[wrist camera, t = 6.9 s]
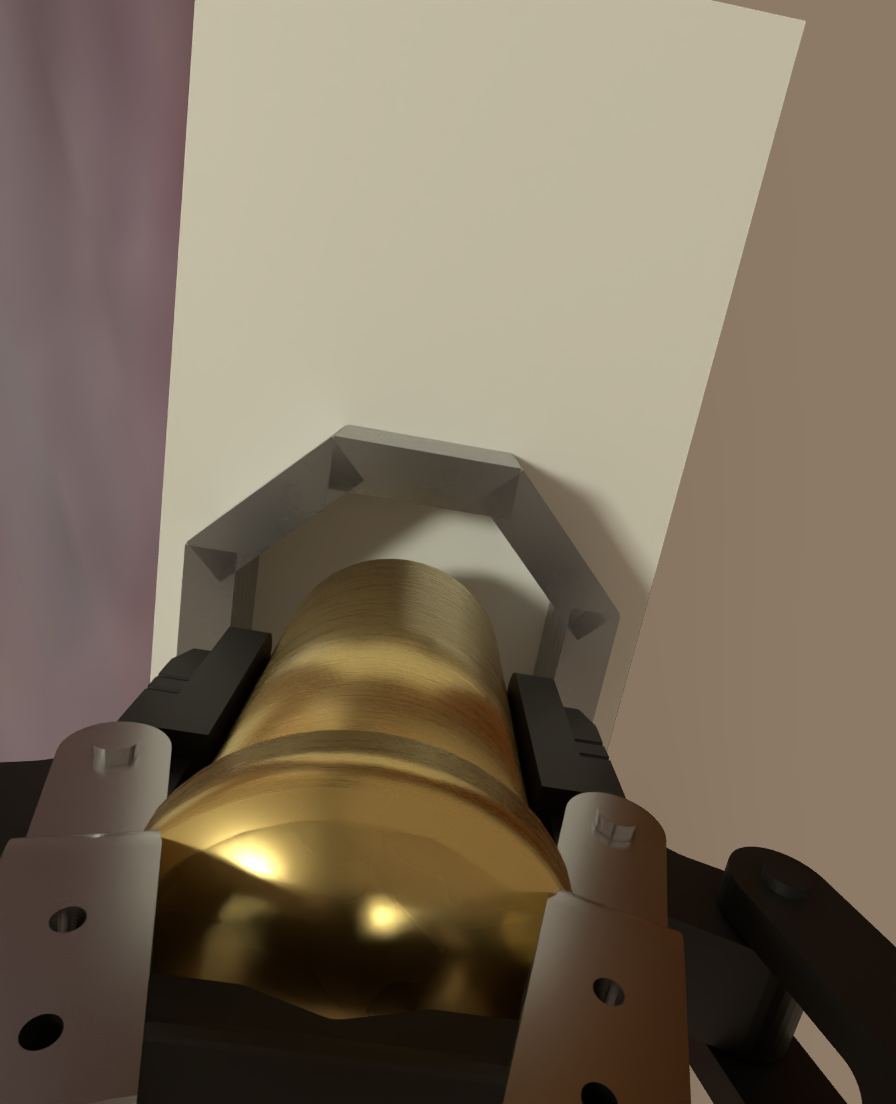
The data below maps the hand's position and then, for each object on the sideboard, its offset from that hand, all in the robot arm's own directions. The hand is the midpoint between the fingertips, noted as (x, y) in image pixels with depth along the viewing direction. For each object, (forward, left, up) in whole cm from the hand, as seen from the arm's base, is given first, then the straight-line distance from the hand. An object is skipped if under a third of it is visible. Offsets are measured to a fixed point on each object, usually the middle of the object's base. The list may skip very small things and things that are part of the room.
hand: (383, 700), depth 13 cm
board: (-3, 0, -5) cm, 6 cm away
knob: (0, 0, -2) cm, 2 cm away
